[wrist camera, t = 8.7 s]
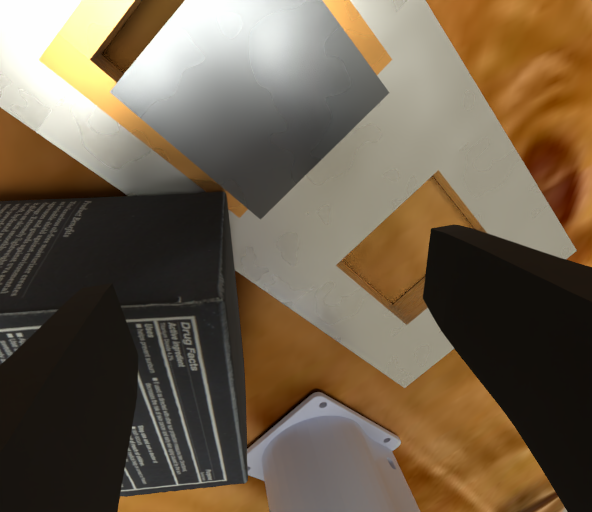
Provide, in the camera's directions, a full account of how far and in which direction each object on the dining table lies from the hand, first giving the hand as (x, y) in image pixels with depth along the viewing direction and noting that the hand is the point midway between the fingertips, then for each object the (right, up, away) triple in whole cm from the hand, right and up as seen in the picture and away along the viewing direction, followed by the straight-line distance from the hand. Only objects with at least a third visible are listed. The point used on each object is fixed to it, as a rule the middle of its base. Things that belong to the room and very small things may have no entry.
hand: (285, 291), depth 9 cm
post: (-2, +8, +6) cm, 10 cm away
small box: (-13, -3, +6) cm, 14 cm away
